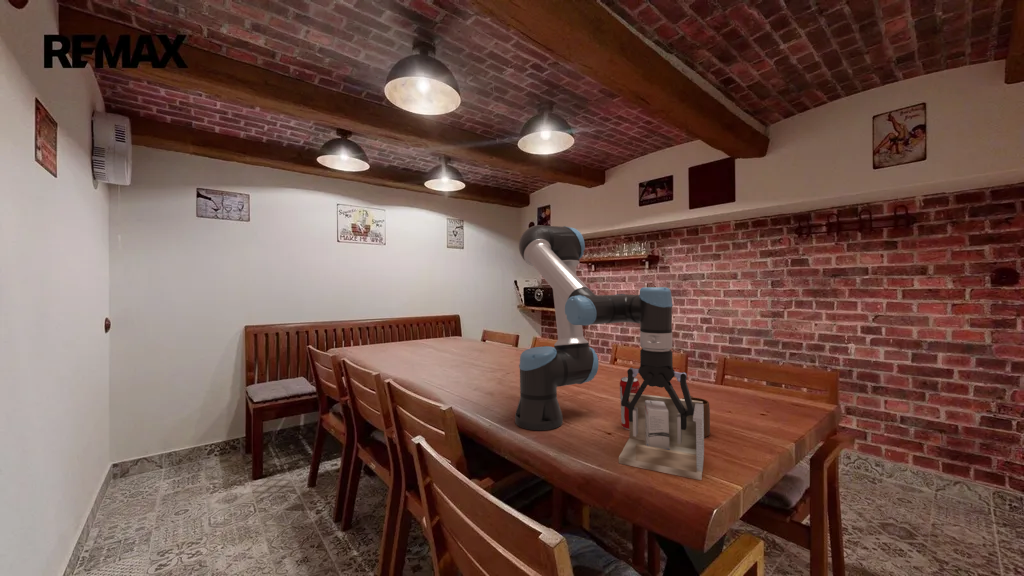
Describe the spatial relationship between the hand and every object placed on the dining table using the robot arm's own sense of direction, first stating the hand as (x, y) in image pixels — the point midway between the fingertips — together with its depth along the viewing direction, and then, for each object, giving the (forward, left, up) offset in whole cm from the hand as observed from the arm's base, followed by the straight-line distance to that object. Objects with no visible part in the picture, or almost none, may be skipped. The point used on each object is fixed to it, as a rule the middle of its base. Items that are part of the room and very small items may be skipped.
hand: (657, 438), depth 95 cm
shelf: (+1, 0, -5) cm, 5 cm away
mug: (+7, +24, -5) cm, 26 cm away
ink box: (0, 0, -4) cm, 4 cm away
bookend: (+9, 0, -3) cm, 10 cm away
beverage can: (-10, +18, -5) cm, 21 cm away
